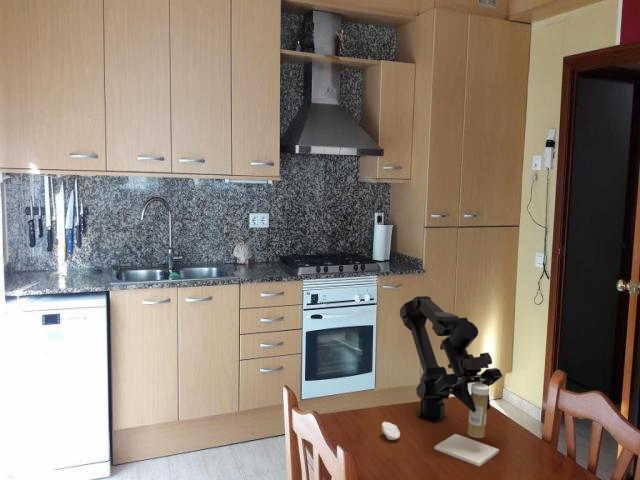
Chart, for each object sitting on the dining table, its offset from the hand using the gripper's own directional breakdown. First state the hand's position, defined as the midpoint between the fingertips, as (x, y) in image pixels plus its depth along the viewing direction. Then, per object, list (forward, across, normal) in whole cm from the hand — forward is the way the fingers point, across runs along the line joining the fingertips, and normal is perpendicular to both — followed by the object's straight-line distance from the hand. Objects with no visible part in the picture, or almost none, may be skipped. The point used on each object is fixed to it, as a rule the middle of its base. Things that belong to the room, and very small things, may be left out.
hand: (481, 410), depth 144 cm
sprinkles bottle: (+4, 0, +6) cm, 8 cm away
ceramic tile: (+7, -2, +10) cm, 13 cm away
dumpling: (-3, -17, +20) cm, 27 cm away
